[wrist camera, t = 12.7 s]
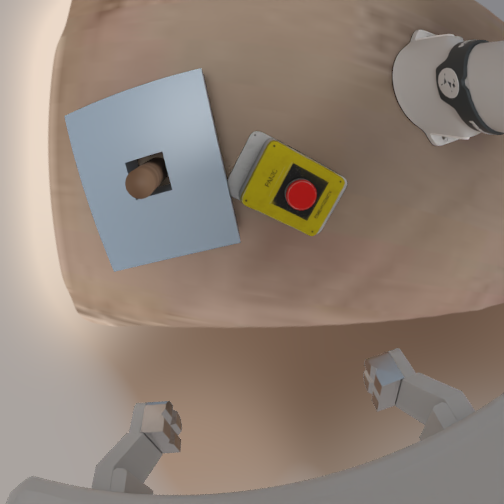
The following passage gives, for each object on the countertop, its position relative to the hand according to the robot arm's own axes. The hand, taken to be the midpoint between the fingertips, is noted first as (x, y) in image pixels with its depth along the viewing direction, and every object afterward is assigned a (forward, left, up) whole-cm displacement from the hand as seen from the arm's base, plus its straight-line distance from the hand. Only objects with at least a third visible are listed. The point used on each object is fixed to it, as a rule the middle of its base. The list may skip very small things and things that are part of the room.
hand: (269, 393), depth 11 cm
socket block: (+9, -6, -31) cm, 33 cm away
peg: (+9, -6, -31) cm, 33 cm away
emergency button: (-7, 0, -32) cm, 33 cm away
